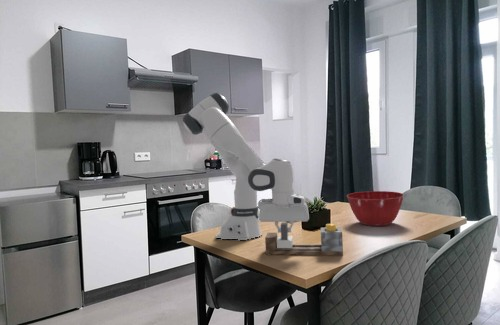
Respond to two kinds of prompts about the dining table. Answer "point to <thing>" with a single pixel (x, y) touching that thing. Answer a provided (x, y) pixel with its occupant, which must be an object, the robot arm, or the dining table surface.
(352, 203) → the mixing bowl
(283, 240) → the carriage
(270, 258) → the dining table surface
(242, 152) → the robot arm
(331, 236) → the rail base
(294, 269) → the dining table surface
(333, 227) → the gauge button
